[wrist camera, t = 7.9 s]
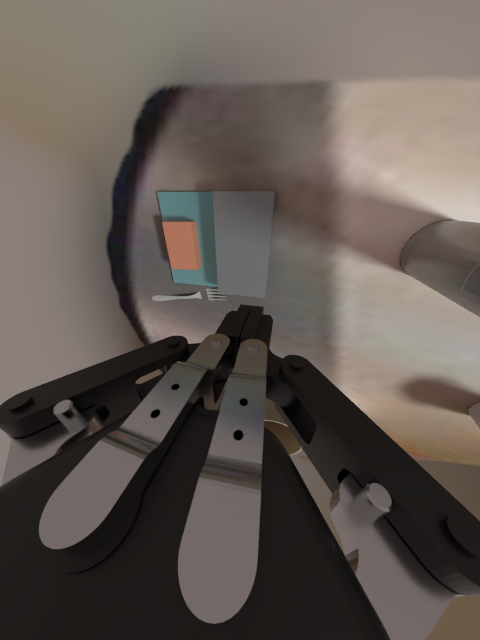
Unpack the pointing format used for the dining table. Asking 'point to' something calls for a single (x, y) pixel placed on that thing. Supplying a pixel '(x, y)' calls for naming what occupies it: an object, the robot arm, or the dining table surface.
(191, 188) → the dining table surface
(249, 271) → the panel
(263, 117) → the dining table surface
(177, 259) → the tile
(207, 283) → the mat
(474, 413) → the coffee cup
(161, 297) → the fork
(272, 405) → the plant pot
